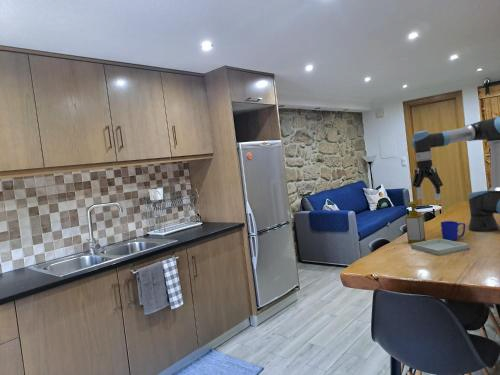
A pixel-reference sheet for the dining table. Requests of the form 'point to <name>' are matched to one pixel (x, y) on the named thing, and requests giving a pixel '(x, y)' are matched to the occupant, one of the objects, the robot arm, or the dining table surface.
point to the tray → (439, 246)
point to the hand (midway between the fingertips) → (428, 199)
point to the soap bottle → (415, 225)
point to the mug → (451, 230)
